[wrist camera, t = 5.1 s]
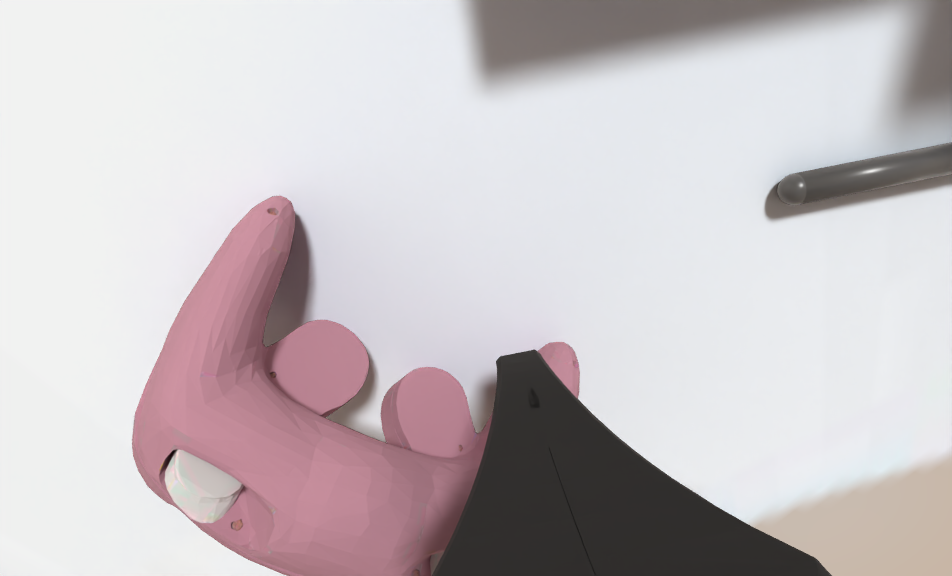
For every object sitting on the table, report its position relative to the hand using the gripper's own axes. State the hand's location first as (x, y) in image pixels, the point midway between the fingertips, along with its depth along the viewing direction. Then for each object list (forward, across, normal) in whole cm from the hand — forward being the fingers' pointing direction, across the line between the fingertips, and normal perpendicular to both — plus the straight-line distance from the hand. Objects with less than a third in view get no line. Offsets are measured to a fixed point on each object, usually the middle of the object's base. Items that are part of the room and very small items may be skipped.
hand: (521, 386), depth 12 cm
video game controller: (+3, +3, 0) cm, 5 cm away
